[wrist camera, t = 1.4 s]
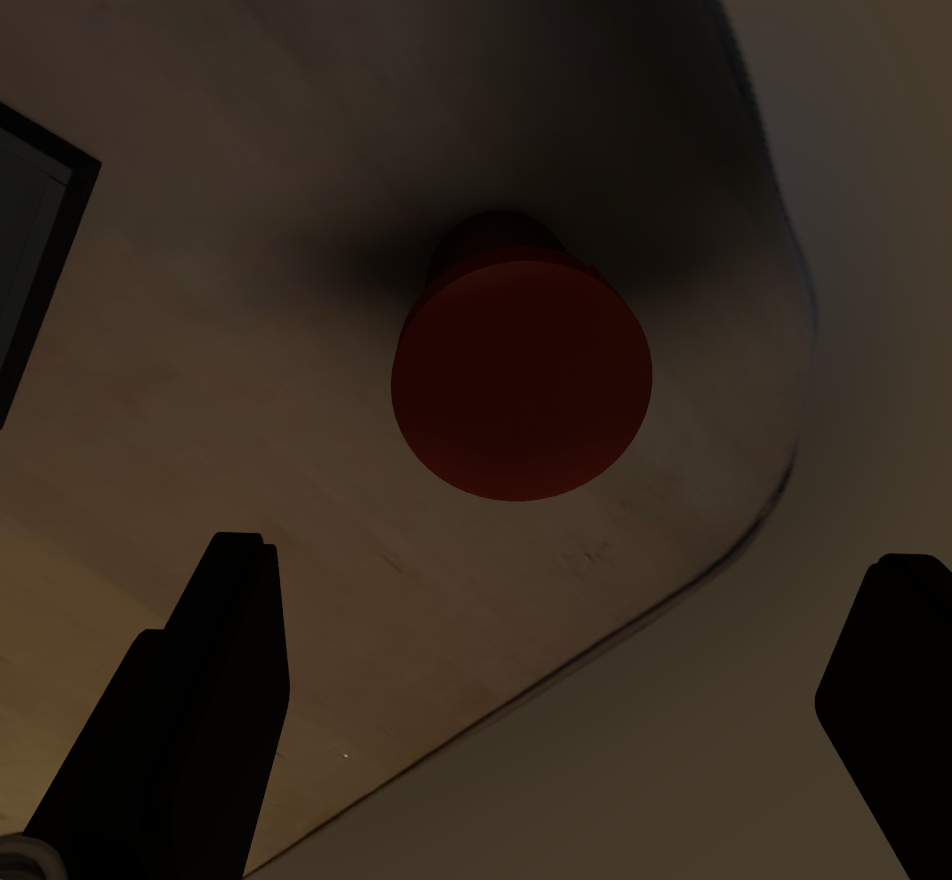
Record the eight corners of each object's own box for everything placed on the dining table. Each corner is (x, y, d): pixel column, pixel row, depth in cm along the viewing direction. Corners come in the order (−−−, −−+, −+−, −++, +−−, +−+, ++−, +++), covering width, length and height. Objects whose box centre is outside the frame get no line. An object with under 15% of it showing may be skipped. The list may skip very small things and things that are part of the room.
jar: (479, 178, 24) (491, 229, 15) (603, 265, 25) (675, 355, 17) (398, 308, 26) (370, 415, 17) (517, 381, 27) (544, 511, 19)
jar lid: (485, 188, 16) (487, 199, 15) (689, 331, 18) (709, 353, 16) (352, 401, 19) (343, 427, 17) (543, 507, 20) (550, 539, 19)
